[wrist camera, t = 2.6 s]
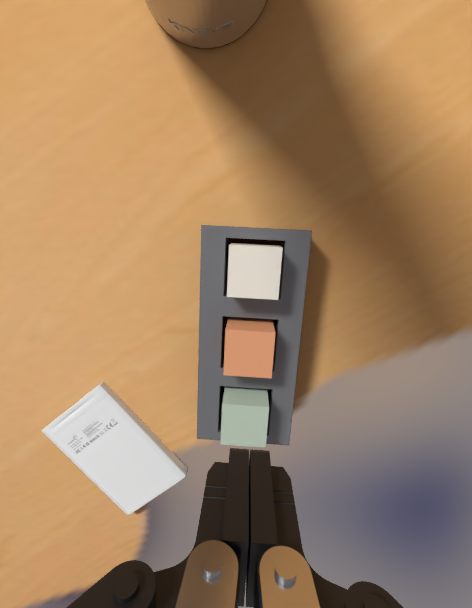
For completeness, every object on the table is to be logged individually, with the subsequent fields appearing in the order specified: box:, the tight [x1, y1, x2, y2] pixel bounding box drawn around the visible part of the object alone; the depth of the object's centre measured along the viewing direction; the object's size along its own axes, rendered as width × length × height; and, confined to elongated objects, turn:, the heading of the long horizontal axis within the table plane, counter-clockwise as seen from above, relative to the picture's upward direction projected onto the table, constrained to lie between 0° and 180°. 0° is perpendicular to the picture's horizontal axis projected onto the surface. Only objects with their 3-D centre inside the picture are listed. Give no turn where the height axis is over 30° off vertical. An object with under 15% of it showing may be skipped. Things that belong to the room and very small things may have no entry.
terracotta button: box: [223, 317, 276, 378], centre depth 24 cm, size 4×4×3 cm
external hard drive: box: [42, 381, 188, 515], centre depth 30 cm, size 2×8×12 cm
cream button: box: [227, 243, 283, 300], centre depth 22 cm, size 4×4×3 cm
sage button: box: [220, 386, 269, 448], centre depth 25 cm, size 4×4×3 cm
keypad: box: [197, 225, 312, 445], centre depth 25 cm, size 18×8×3 cm, turn 177°
